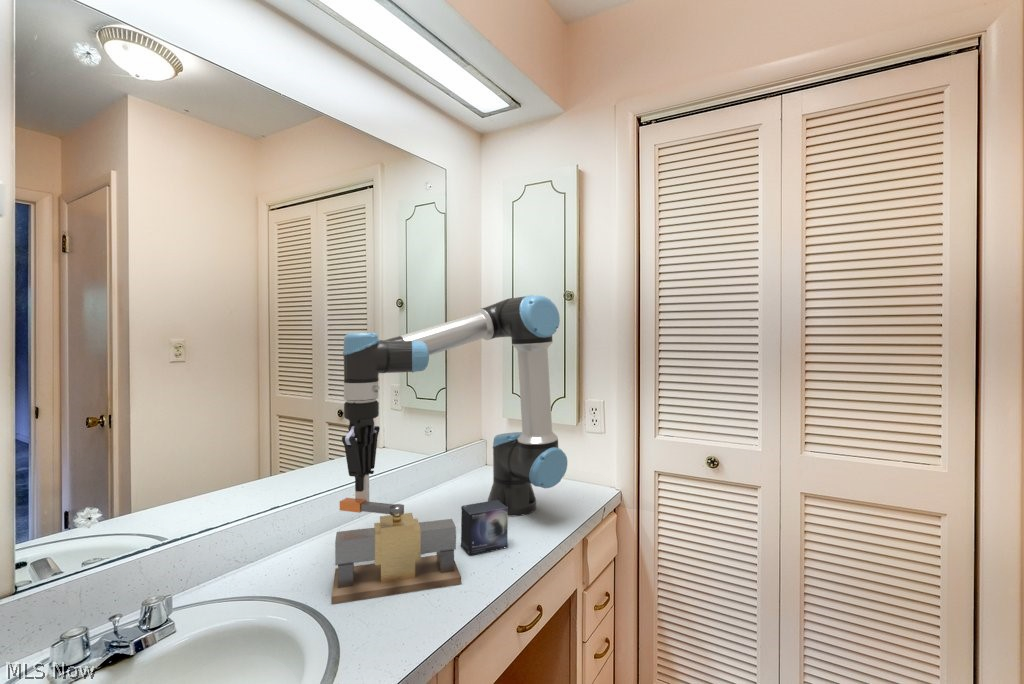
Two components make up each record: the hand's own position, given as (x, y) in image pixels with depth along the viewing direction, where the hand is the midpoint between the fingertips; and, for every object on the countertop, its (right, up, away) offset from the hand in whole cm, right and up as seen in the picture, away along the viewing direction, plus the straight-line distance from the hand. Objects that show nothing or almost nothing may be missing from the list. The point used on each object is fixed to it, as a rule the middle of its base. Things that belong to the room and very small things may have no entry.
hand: (362, 503), depth 108 cm
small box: (+27, -15, +11) cm, 33 cm away
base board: (+9, -15, -5) cm, 18 cm away
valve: (+9, -14, -5) cm, 17 cm away
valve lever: (+3, -1, -3) cm, 5 cm away
